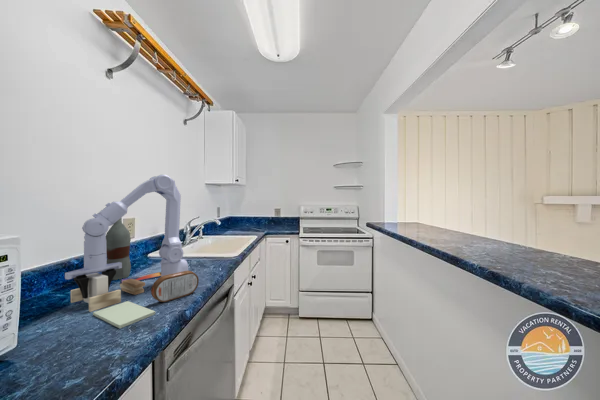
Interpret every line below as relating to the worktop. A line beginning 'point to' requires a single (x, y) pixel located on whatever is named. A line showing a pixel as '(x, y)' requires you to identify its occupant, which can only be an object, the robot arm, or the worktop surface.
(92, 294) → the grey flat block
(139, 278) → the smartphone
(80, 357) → the worktop surface
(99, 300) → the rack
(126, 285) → the offcuts
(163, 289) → the tin
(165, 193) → the robot arm
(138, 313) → the mat
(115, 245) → the bottle
